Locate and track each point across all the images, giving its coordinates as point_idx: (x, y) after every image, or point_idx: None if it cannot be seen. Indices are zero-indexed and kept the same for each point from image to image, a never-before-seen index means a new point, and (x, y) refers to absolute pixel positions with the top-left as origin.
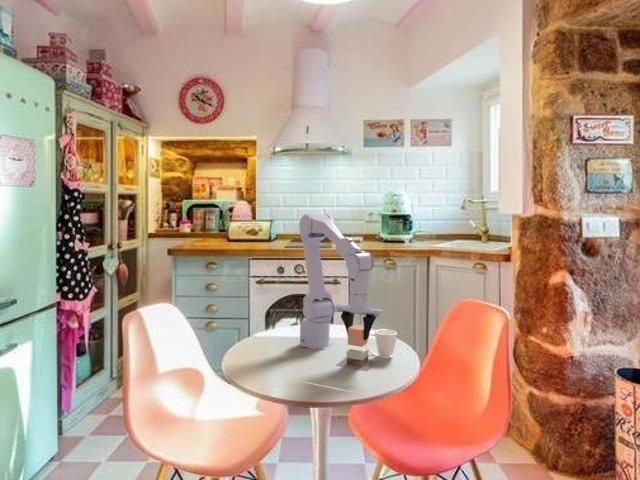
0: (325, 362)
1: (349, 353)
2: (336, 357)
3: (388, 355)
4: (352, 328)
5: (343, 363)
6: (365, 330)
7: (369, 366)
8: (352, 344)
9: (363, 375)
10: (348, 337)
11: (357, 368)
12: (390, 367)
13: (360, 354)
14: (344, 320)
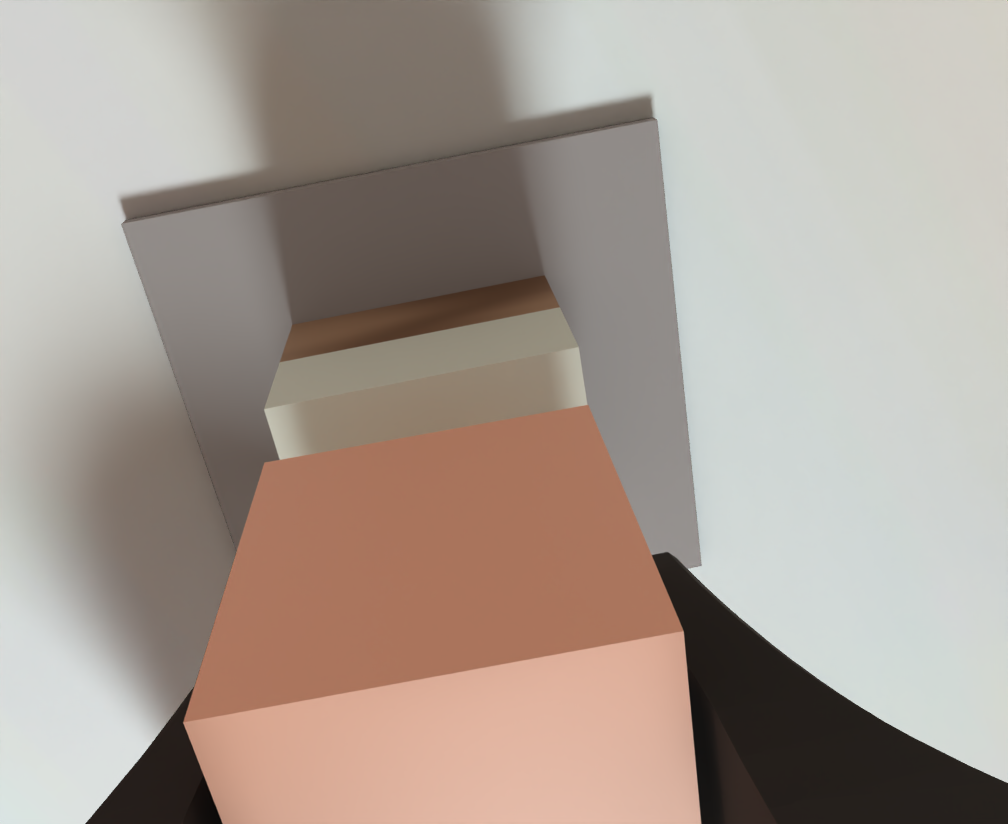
0: (861, 162)
1: (517, 343)
2: (817, 432)
3: None
4: (542, 679)
5: (594, 267)
6: (148, 796)
7: (224, 406)
8: (477, 431)
9: (74, 61)
10: (603, 485)
11: (305, 224)
12: (23, 578)
13: (306, 393)
14: (949, 809)
